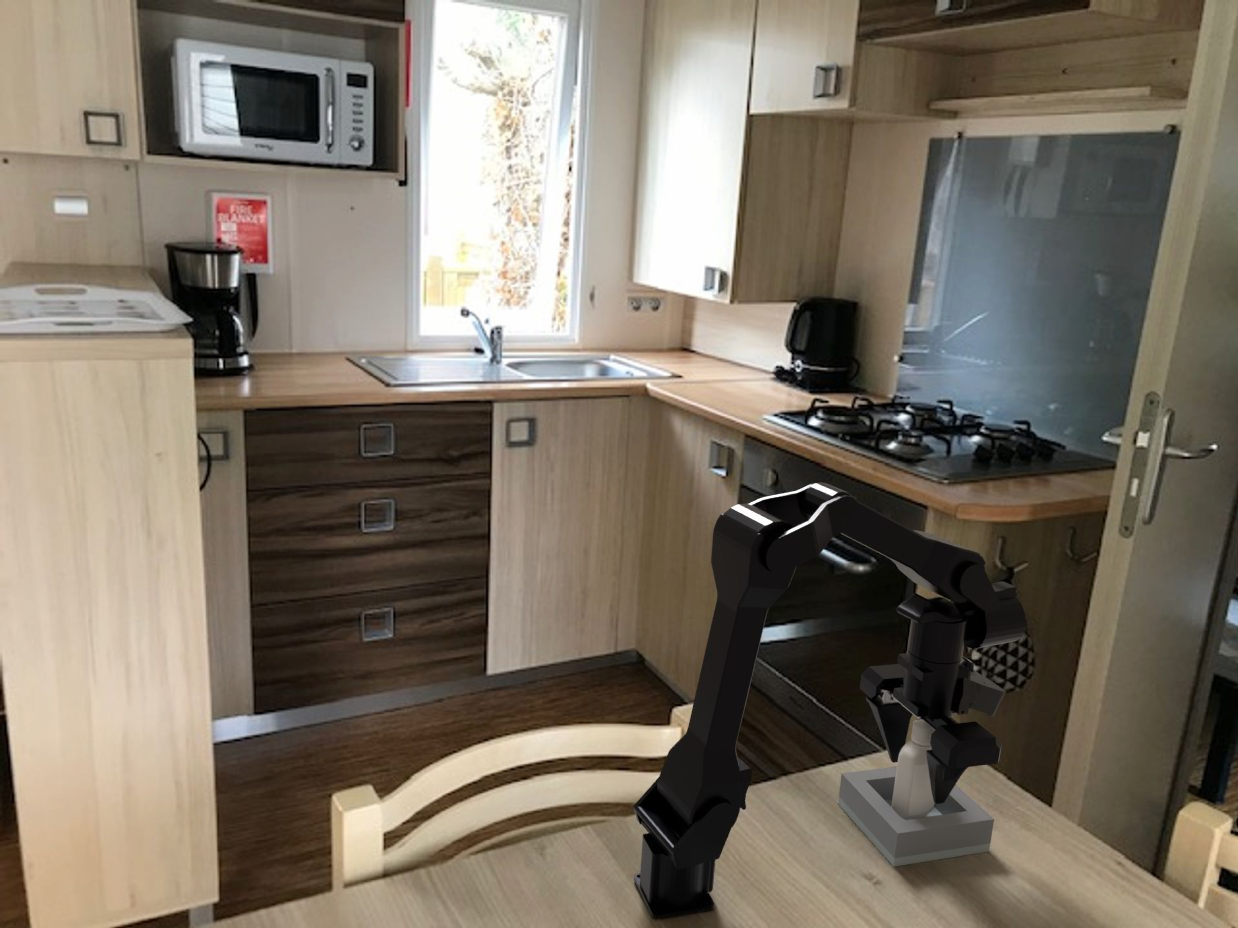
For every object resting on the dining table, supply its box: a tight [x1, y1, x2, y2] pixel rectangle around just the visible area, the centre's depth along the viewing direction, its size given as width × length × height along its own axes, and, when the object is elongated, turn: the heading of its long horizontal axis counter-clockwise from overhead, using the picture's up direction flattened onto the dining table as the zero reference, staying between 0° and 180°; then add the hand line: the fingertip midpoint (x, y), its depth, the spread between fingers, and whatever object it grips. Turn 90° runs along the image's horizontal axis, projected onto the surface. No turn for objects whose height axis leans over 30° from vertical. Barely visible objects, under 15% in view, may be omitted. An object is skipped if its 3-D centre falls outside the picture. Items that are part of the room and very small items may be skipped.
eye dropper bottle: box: [891, 718, 935, 820], centre depth 113 cm, size 4×6×12 cm
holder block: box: [837, 765, 995, 867], centre depth 114 cm, size 12×12×4 cm
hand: (916, 781), depth 113 cm, fingers closed on eye dropper bottle, 8 cm apart
